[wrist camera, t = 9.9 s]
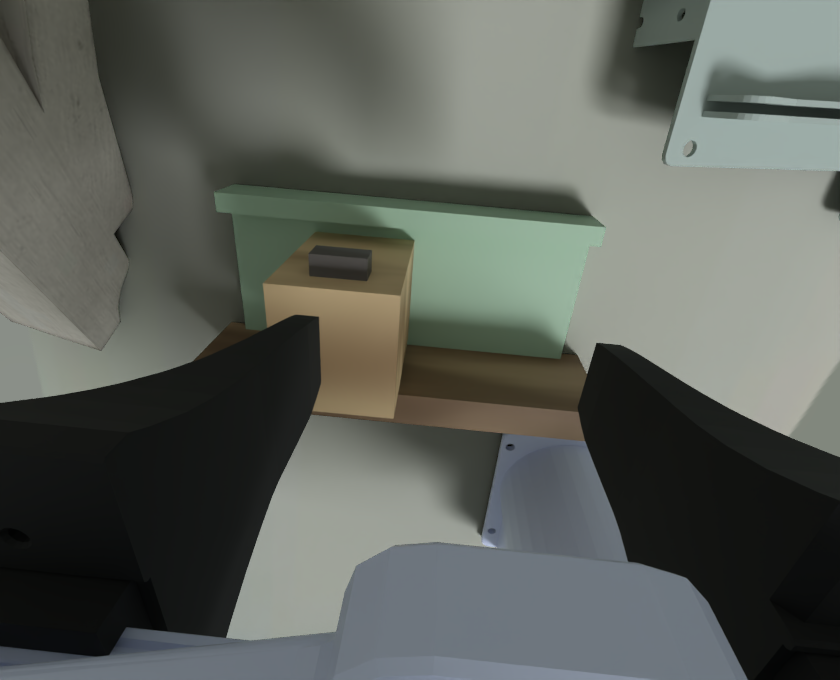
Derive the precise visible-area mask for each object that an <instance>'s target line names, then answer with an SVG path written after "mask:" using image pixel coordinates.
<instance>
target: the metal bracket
mask: <svg viewBox="0 0 840 680" xmlns="http://www.w3.org/2000/svg"><path fill="white" fill-rule="evenodd" d="M684 11H685V16H684V18H683V19H682V20H681V17H682V14H683V12H684ZM641 17H643V20H644V21H643V24H642V26H641V27H640V28H637V31H636V35H635V39H634V44H633V47H645V46H653V45H661V44H669V43H677V42H686V41H694V40H695V42H694V45H693V49H692V52H691V56H690V59H689V63H688V66H687V70H686V73H685V77H684V80H683V84H682V87H681V91H680V94H679V98H678V101H677V105H676V108H675V112H674V115H673V118H672V122H671V125H670V129H669V132H668V136H667V139H666V143H665V146H664V150H663V153H662V161H663V163H664V164H666V165H669V166H687V167H720V168H754V169H787V170H821V171H840V0H644V1H643V5H642V9H641V14H640V18H641ZM689 141H692V143H693V149H692V151H691V153H690V154H689V155H687V156H684V154H683V149H684V147H685V145H686V144H687V143H688V142H689ZM839 220H840V214H839Z"/></svg>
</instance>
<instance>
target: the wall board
mask: <svg viewBox="0 0 840 680" xmlns="http://www.w3.org/2000/svg"><path fill="white" fill-rule="evenodd" d="M258 332H260V330H250V329H246V327H245V323H235V322H231V323H230V324H229V325H228V326H227V327H226V328H225V329H224V330H223V331H222V332H221V333H220V334H219V335H218V336H217V337H216V338H215V339H214V340H213V341H212V342H211V343H210V344H209V345H208V346H207V347H206V348H205V350H204V351H203V352H202V353H201V354H200V355H199V356H198V357H197V358H196V359H195V360H194V361H196V360H199V359H201V358H204V357H206V356H209V355H211V354H213V353H216V352H218V351H220V350H222V349H224V348H227V347H229V346H231V345H233V344H236V343H238V342H240V341H242V340H244V339H246V338H248V337H250V336H252V335H254V334H256V333H258ZM586 377H587V374H586V372H585V370H584V368H583V366H582V364H581V362H580V360H579V358H578V356H577V355H572V354H561V358H560V359H554V358H544V357H533V356H523V355H512V354H502V353H491V352H481V351H470V350H460V349H449V348H439V347H428V346H418V345H407V347H406V352H405V358H404V363H403V369H402V375H401V380H400V386H399V391H398V397H397V402H396V408H395V413H394V419H390V418H380V417H369V416H359V415H348V414H338V413H328V412H317V411H312V413H311V414H312V415H322V416H332V417H342V418H352V419H363V420H373V421H383V422H393V423H403V424H413V425H424V426H434V427H444V428H454V429H464V430H474V431H485V432H495V433H505V434H515V435H525V436H535V437H546V438H556V439H566V440H576V441H585V439H584V435H583V431H582V427H581V423H580V418H579V413H578V408H577V407H578V404H579V401H580V397H581V394H582V390H583V387H584V384H585V380H586Z"/></svg>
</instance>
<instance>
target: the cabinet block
mask: <svg viewBox="0 0 840 680" xmlns="http://www.w3.org/2000/svg"><path fill="white" fill-rule="evenodd" d="M414 243H415V240H405V239H394V238H383V237H371V236H360V235H349V234H337V233H326V232H315V233H314V234H313V235H311V236H310V237H309V238H308V239H307V240H306V241H305V242H304V243H303V244H302V245H301V246H300V247H299V248H298V249H297V250H296V251H295V252H294V253H293V254H292V255H291V256H290V257H289V258H288V259H287V260H286V261H285V262H284V263H283V264H282V265H281V266H280V267H279V268H278V269H277V270H276V271H275V272H274V273H273V274H272V275H271V276H270V277H269V278H268V279H267V280H266V281H265V282H264V283H263V291H264V301H265V311H266V321H267V328H268V327H270V326H272V325H274V324H276V323H278V322H280V321H282V320H284V319H286V318H288V317H290V316H293V315H307V316H317V317H319V329H320V359H321V385H320V389H319V392H318V395H317V399H316V402H315V405H314V408H313V411H317V412H328V413H338V414H348V415H359V416H369V417H380V418H390V419H394V413H395V408H396V402H397V397H398V391H399V386H400V380H401V375H402V369H403V363H404V358H405V352H406V347H407V341H408V331H409V316H410V302H411V287H412V272H413V257H414Z"/></svg>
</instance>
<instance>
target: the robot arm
mask: <svg viewBox="0 0 840 680" xmlns="http://www.w3.org/2000/svg"><path fill="white" fill-rule="evenodd" d="M320 385H321V359H320V329H319V317H317V316H307V315H293V316H290V317H288V318H286V319H284V320H282V321H280V322H278V323H276V324H274V325H272V326H270V327H268V328H266V329H264V330H262V331H260V332H258V333H256V334H254V335H252V336H250V337H248V338H246V339H244V340H242V341H240V342H238V343H236V344H233V345H231V346H229V347H227V348H224V349H222V350H220V351H218V352H216V353H213V354H211V355H209V356H206V357H204V358H201V359H199V360H196V361H193V362H191V363H188V364H185V365H182V366H179V367H176V368H173V369H170V370H167V371H164V372H160V373H157V374H153V375H149V376H146V377H142V378H138V379H135V380H131V381H127V382H123V383H119V384H115V385H110V386H106V387H101V388H96V389H91V390H86V391H80V392H75V393H69V394H64V395H57V396H51V397H44V398H36V399H28V400H20V401H13V402H5V403H0V680H840V457H837V456H835V455H832V454H829V453H827V452H825V451H822V450H819V449H817V448H814V447H812V446H810V445H807V444H805V443H802V442H800V441H797V440H795V439H792V438H790V437H788V436H785V435H783V434H781V433H779V432H776V431H774V430H772V429H770V428H768V427H766V426H764V425H761V424H759V423H757V422H755V421H753V420H751V419H749V418H747V417H745V416H743V415H741V414H739V413H737V412H735V411H733V410H731V409H729V408H727V407H725V406H724V405H722V404H720V403H718V402H717V401H715V400H713V399H711V398H709V397H708V396H706V395H704V394H702V393H701V392H699V391H697V390H696V389H694V388H692V387H691V386H689V385H687V384H686V383H684V382H682V381H681V380H679V379H677V378H676V377H674V376H673V375H671V374H669V373H668V372H666V371H665V370H663V369H662V368H660V367H658V366H657V365H655V364H654V363H652V362H650V361H649V360H647V359H645V358H644V357H642V356H640V355H639V354H637V353H635V352H634V351H632V350H630V349H628V348H626V347H624V346H621V345H614V344H603V343H596V347H595V350H594V353H593V357H592V360H591V363H590V367H589V370H588V374H587V377H586V380H585V384H584V387H583V390H582V394H581V397H580V401H579V404H578V407H577V408H578V413H579V418H580V423H581V427H582V431H583V435H584V439H585V441H576V440H566V439H556V438H546V437H535V436H525V435H515V434H505V433H503V435H502V439H501V444H500V449H499V454H498V459H497V463H496V468H495V473H494V478H493V483H492V488H491V492H490V497H489V502H488V507H487V512H486V517H485V521H484V526H483V531H482V536H481V537H482V543H483V544H484V545H486V546H491V547H497V548H489V547H479V546H470V545H460V544H450V543H440V542H432V543H419V544H405V545H395V546H393V547H390V548H389V549H387V550H385V551H383V552H381V553H379V554H377V555H375V556H374V557H372V558H370V559H368V560H366V561H364V562H362V563H361V564H359V565H357V566H356V568H355V570H354V573H353V575H352V577H351V579H350V581H349V584H348V586H347V588H346V590H345V594H344V598H343V603H342V608H341V612H340V617H339V621H338V626H337V631H336V632H329V633H319V634H309V635H300V636H290V637H280V638H271V639H261V640H252V641H249V640H240V639H231V638H226V636H227V632H228V629H229V625H230V622H231V619H232V615H233V612H234V609H235V606H236V602H237V599H238V596H239V593H240V590H241V586H242V583H243V580H244V577H245V574H246V570H247V567H248V564H249V561H250V558H251V555H252V552H253V549H254V547H255V544H256V541H257V538H258V535H259V532H260V529H261V526H262V523H263V520H264V518H265V515H266V512H267V509H268V506H269V504H270V501H271V498H272V495H273V493H274V491H275V488H276V486H277V484H278V481H279V479H280V477H281V475H282V473H283V471H284V469H285V467H286V465H287V463H288V461H289V459H290V457H291V455H292V453H293V451H294V449H295V447H296V445H297V443H298V441H299V439H300V437H301V434H302V432H303V430H304V428H305V426H306V424H307V422H308V420H309V418H310V416H311V413H312V411H313V408H314V405H315V402H316V399H317V395H318V392H319V389H320ZM508 444H513V445H512V446H506V445H508ZM490 528H493V529H490Z"/></svg>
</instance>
